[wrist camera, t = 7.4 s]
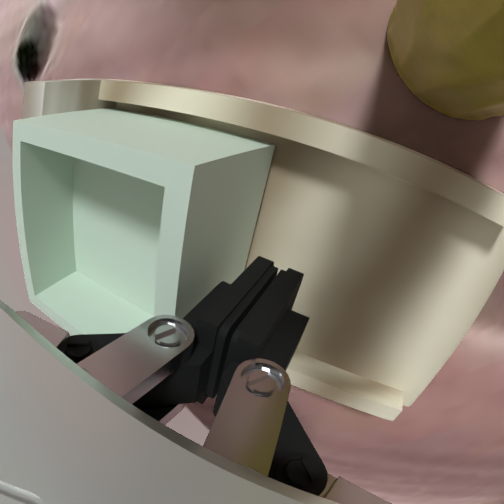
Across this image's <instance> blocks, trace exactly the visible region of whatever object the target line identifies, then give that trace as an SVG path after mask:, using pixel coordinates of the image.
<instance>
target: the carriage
mask: <svg viewBox="0 0 504 504" xmlns="http://www.w3.org/2000/svg"><path fill="white" fill-rule="evenodd" d="M275 145H276V144H272V143H269V142H265V141H262V140H258V139H254V138H251V137H247V136H243V135H240V134H236V133H232V132H228V131H224V130H220V129H216V128H212V127H208V126H203V125H199V124H195V123H190V122H186V121H181V120H176V119H172V118H167V117H162V116H156V115H151V114H146V113H140V112H135V111H129V110H123V109H116V108H104V109H93V110H83V111H74V112H66V113H58V114H51V115H44V116H38V117H31V118H26V119H20V120H15V121H13V184H14V199H15V211H16V222H17V230H18V238H19V246H20V252H21V259H22V265H23V270H24V276H25V280H26V285H27V290H28V295H29V299H30V301H31V302H32V303H33V304H34V305H35V306H36V307H38V308H39V309H40V310H41V311H42V312H43V313H45V314H46V315H47V316H48V317H49V318H51V319H52V320H53V321H54V322H56V323H57V324H58V325H59V326H61V327H62V328H63V329H64V330H66V331H68V332H69V333H70V334H71V335H79V334H114V333H127V332H129V331H131V330H132V329H134V328H135V327H137V326H139V325H140V324H142V323H144V322H145V321H147V320H148V319H150V318H152V317H155V316H158V315H173V316H177V317H180V318H183V317H185V316H186V315H187V314H188V313H189V312H190V311H191V310H192V309H193V308H194V307H195V306H196V305H197V304H198V303H199V302H200V301H201V300H202V299H203V298H204V297H205V296H206V295H207V294H208V293H210V292H211V291H212V290H213V289H214V288H215V287H216V286H217V285H218V284H219V283H220V282H222V281H225V282H227V283H229V284H232V283H233V282H234V281H235V280H236V279H237V278H238V276H239V275H240V274H241V273H242V272H243V271H244V270H245V265H246V261H247V257H248V253H249V249H250V245H251V241H252V237H253V233H254V229H255V225H256V221H257V217H258V213H259V209H260V205H261V201H262V197H263V193H264V189H265V185H266V181H267V177H268V173H269V169H270V165H271V161H272V157H273V153H274V149H275Z"/></svg>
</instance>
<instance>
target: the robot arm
mask: <svg viewBox="0 0 504 504" xmlns="http://www.w3.org/2000/svg"><path fill="white" fill-rule="evenodd" d="M277 272H278V268H277V267H275V266H274V262H273V261H271V260H268V259H266V258H263V257H261V256H258V257H257V258H256V259H255V260H254V261H253V262H252V263H251V264H250V265H249V266H248V267H247V268H246V269H245V270H244V271H243V272H242V273H241V274H240V275H239V276H238V278H237V279H236V280H235V281H234V282H233V283H232V284H229V283H227V282H225V281H222V282H220V283H219V284H218V285H217V286H216V287H215V288H214V289H213V290H212V291H211V292H210V293H208V294H207V295H206V296H205V297H204V298H203V299H202V300H201V301H200V302H199V303H198V304H197V305H196V306H195V307H194V308H193V309H192V310H191V311H190V312H189V313H188V314H187V315H186V316H185V317H183V318H180V317H177V316H173V315H158V316H155V317H152V318H150V319H148V320H147V321H145V322H144V323H142V324H140V325H139V326H137V327H135V328H134V329H132V330H131V331H129V332H127V333H114V334H79V335H72V336H70V335H69V332H68V331H66V330H64V329H61V328H59V327H57V326H55V325H53V324H51V323H49V322H47V321H45V320H43V319H41V318H39V317H37V316H35V315H33V314H31V313H29V312H26V311H17V312H15V311H14V310H13V309H11V308H10V307H9V306H8V305H6V304H4V303H3V302H2V301H0V504H392V503H390V502H387V501H385V500H383V499H381V498H379V497H377V496H375V495H373V494H372V493H370V492H368V491H366V490H364V489H362V488H360V487H358V486H356V485H355V484H353V483H351V482H349V481H347V480H345V479H344V478H342V477H340V476H339V477H338V478H335V477H333V476H332V475H330V474H328V473H327V470H326V468H325V465H324V464H323V462H322V460H321V458H320V457H319V455H318V453H317V452H316V450H315V448H314V446H313V445H312V443H311V441H310V439H309V438H308V436H307V434H306V432H305V431H304V429H303V427H302V425H301V424H300V422H299V420H298V418H297V417H296V415H295V413H294V411H293V409H292V408H291V406H290V404H289V402H288V396H289V392H290V384H291V381H290V378H289V376H288V374H287V372H286V370H287V368H288V366H289V363H290V361H291V359H292V357H293V355H294V353H295V351H296V349H297V346H298V344H299V342H300V340H301V337H302V335H303V333H304V330H305V328H306V326H307V323H308V321H309V318H310V317H307V316H305V315H302V314H300V313H297V312H295V311H293V310H292V307H293V305H294V302H295V299H296V296H297V294H298V291H299V288H300V285H301V282H302V279H303V276H304V273H301V272H299V271H296V270H293V269H291V268H288V269H287V271H285V270H282V269H281V270H280V272H279V273H278V274H277ZM216 394H217V397H216V402H215V406H214V410H213V412H214V415H215V417H216V418H215V420H214V422H213V425H212V427H211V429H210V431H209V434H208V436H207V438H206V441H205V443H204V445H203V446H201V445H199V444H197V443H195V442H193V441H192V440H190V439H188V438H186V437H184V436H183V435H181V434H179V433H177V432H176V431H174V430H172V429H170V428H169V427H167V426H165V424H166V423H168V422H169V421H170V420H171V419H172V418H174V417H175V416H176V415H177V414H178V413H179V412H180V411H181V410H182V409H183V408H184V407H185V404H186V403H192V402H196V401H198V402H200V403H202V404H203V403H204V401H205V400H206V399H207V397H210V398H212V399H213V398H214V397H215V396H216Z"/></svg>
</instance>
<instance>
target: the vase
mask: <svg viewBox="0 0 504 504" xmlns="http://www.w3.org/2000/svg"><path fill="white" fill-rule="evenodd" d="M387 42H388V46H389V50H390V54H391V58H392V60H393V63H394V66H395V68H396V70H397V72H398V74H399V75H400V77H401V78H402V80H403V82H404V83H405V84H406V85H407V87H408V88H409V89H410V90H411V91H412V92H413V93H414V95H415V96H416V97H418V98H419V99H420V100H421V101H423V102H424V103H425V104H427V105H428V106H430V107H431V108H433V109H435V110H436V111H438V112H440V113H442V114H444V115H447V116H449V117H453V118H458V119H468V120H485V119H487V118H490V117H496V116H504V0H397V4H396V6H395V7H394V9H393V12H392V14H391V16H390V19H389V24H388V30H387Z"/></svg>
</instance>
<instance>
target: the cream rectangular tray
mask: <svg viewBox="0 0 504 504" xmlns="http://www.w3.org/2000/svg"><path fill="white" fill-rule="evenodd" d="M104 108H116V109H123V110H129V111H135V112H140V113H146V114H151V115H156V116H162V117H167V118H172V119H176V120H181V121H186V122H190V123H195V124H199V125H203V126H208V127H212V128H216V129H220V130H224V131H228V132H232V133H236V134H240V135H243V136H247V137H251V138H254V139H258V140H262V141H265V142H269V143H272V144H276V145H275V149H274V153H273V157H272V161H271V165H270V169H269V173H268V177H267V181H266V185H265V189H264V193H263V197H262V201H261V205H260V209H259V213H258V217H257V221H256V225H255V229H254V233H253V237H252V241H251V245H250V249H249V253H248V257H247V261H246V265H245V269H246V268H247V267H248V266H249V265H250V264H251V263H252V262H253V261H254V260H255V259H256V258H257V257H258V256H261V257H263V258H266V259H268V260H271V261H273V262H274V266H275V267H277V268H278V272H277V274H278V273H279V272H280V270H281V269H282V270H285V271H287V269H288V268H291V269H293V270H296V271H299V272H301V273H304V276H303V279H302V282H301V285H300V288H299V291H298V294H297V296H296V299H295V302H294V305H293V307H292V310H293V311H295V312H297V313H300V314H302V315H305V316H307V317H310V318H309V321H308V323H307V326H306V328H305V330H304V333H303V335H302V337H301V340H300V342H299V344H298V346H297V349H296V351H295V353H294V355H293V357H292V359H291V361H290V363H289V366H288V368H287V370H286V372H287V374H288V376H289V378H290V381H291V385H294V386H296V387H299V388H301V389H304V390H306V391H309V392H311V393H314V394H316V395H319V396H322V397H324V398H327V399H329V400H332V401H335V402H338V403H340V404H343V405H346V406H349V407H351V408H354V409H357V410H360V411H363V412H366V413H369V414H372V415H375V416H378V417H381V418H384V419H387V420H390V421H393V420H394V419H395V418H396V417H397V416H398V415H399V414H400V412H401V411H402V407H403V405H404V406H407V407H409V406H410V405H411V404H412V403H413V402H414V401H415V400H416V398H417V397H418V396H419V395H420V394H421V393H422V391H423V390H424V389H425V388H426V387H427V385H428V384H429V383H430V382H431V380H432V379H433V378H434V377H435V375H436V374H437V373H438V372H439V370H440V369H441V368H442V366H443V365H444V364H445V362H446V361H447V360H448V358H449V357H450V356H451V354H452V353H453V351H454V350H455V349H456V347H457V346H458V344H459V343H460V342H461V340H462V339H463V337H464V336H465V334H466V333H467V331H468V330H469V328H470V327H471V325H472V324H473V322H474V321H475V319H476V317H477V316H478V314H479V313H480V311H481V309H482V308H483V306H484V304H485V303H486V301H487V299H488V298H489V296H490V294H491V292H492V291H493V289H494V287H495V285H496V284H497V282H498V280H499V278H500V276H501V274H502V273H503V271H504V194H503V193H502V192H500V191H498V190H496V189H494V188H492V187H491V186H489V185H487V184H485V183H483V182H481V181H479V180H477V179H475V178H473V177H471V176H469V175H467V174H465V173H463V172H461V171H459V170H457V169H455V168H453V167H451V166H448V165H446V164H444V163H442V162H440V161H437V160H435V159H433V158H431V157H428V156H426V155H424V154H421V153H419V152H417V151H414V150H412V149H409V148H407V147H404V146H402V145H399V144H397V143H394V142H392V141H389V140H387V139H384V138H381V137H378V136H376V135H373V134H370V133H367V132H365V131H362V130H359V129H356V128H353V127H350V126H347V125H344V124H341V123H338V122H334V121H331V120H328V119H325V118H321V117H318V116H315V115H311V114H308V113H304V112H301V111H297V110H293V109H289V108H286V107H282V106H278V105H274V104H270V103H265V102H261V101H257V100H252V99H248V98H243V97H238V96H233V95H228V94H223V93H218V92H212V91H207V90H201V89H195V88H188V87H182V86H175V85H167V84H159V83H151V82H141V81H131V80H118V79H64V80H45V81H32V82H25V87H24V96H23V108H22V119H26V118H31V117H38V116H44V115H51V114H58V113H66V112H74V111H83V110H93V109H104Z"/></svg>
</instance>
